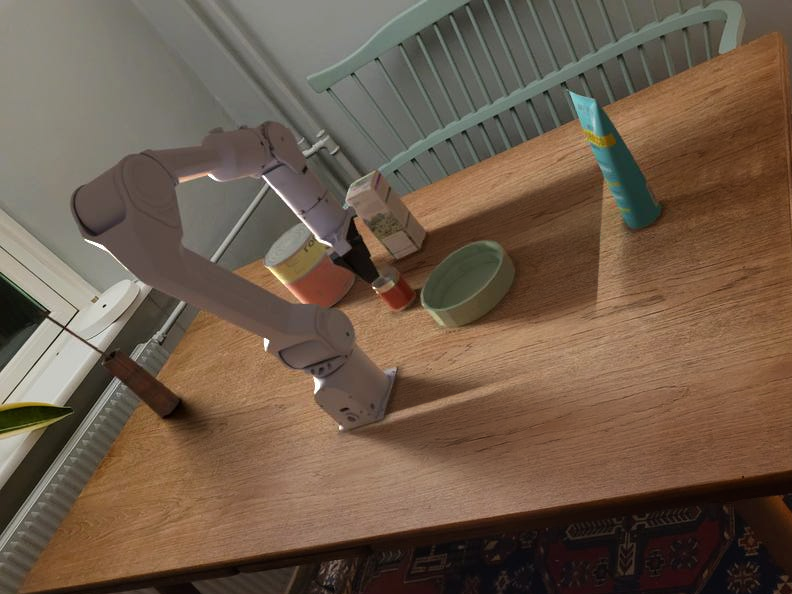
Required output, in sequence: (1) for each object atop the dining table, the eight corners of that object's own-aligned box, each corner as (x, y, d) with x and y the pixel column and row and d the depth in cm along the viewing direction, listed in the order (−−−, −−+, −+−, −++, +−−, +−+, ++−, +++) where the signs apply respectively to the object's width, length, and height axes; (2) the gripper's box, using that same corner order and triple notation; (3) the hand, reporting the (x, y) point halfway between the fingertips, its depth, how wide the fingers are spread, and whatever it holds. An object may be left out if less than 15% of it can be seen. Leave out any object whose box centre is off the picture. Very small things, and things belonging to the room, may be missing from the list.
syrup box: (427, 231, 125) (377, 166, 116) (422, 251, 121) (370, 186, 112) (401, 243, 127) (351, 181, 119) (396, 263, 123) (343, 200, 115)
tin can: (414, 309, 110) (391, 282, 106) (391, 317, 112) (368, 292, 109) (420, 289, 113) (398, 262, 109) (398, 298, 115) (375, 272, 112)
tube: (615, 221, 96) (550, 102, 84) (642, 198, 96) (580, 75, 84) (647, 236, 90) (582, 110, 78) (676, 212, 90) (615, 82, 78)
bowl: (511, 312, 95) (496, 292, 93) (427, 341, 102) (412, 322, 100) (522, 247, 104) (508, 227, 102) (445, 277, 111) (430, 259, 109)
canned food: (360, 283, 126) (316, 234, 119) (311, 322, 127) (265, 275, 120) (350, 260, 135) (308, 213, 128) (304, 296, 136) (261, 251, 129)
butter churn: (200, 382, 137) (76, 282, 120) (174, 422, 132) (40, 323, 115) (174, 387, 142) (52, 292, 125) (148, 426, 137) (17, 332, 120)
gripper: (339, 199, 93) (400, 272, 101) (327, 168, 105) (382, 235, 113) (298, 232, 94) (361, 301, 102) (290, 197, 105) (347, 262, 113)
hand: (370, 269), depth 107 cm, fingers open, 7 cm apart
